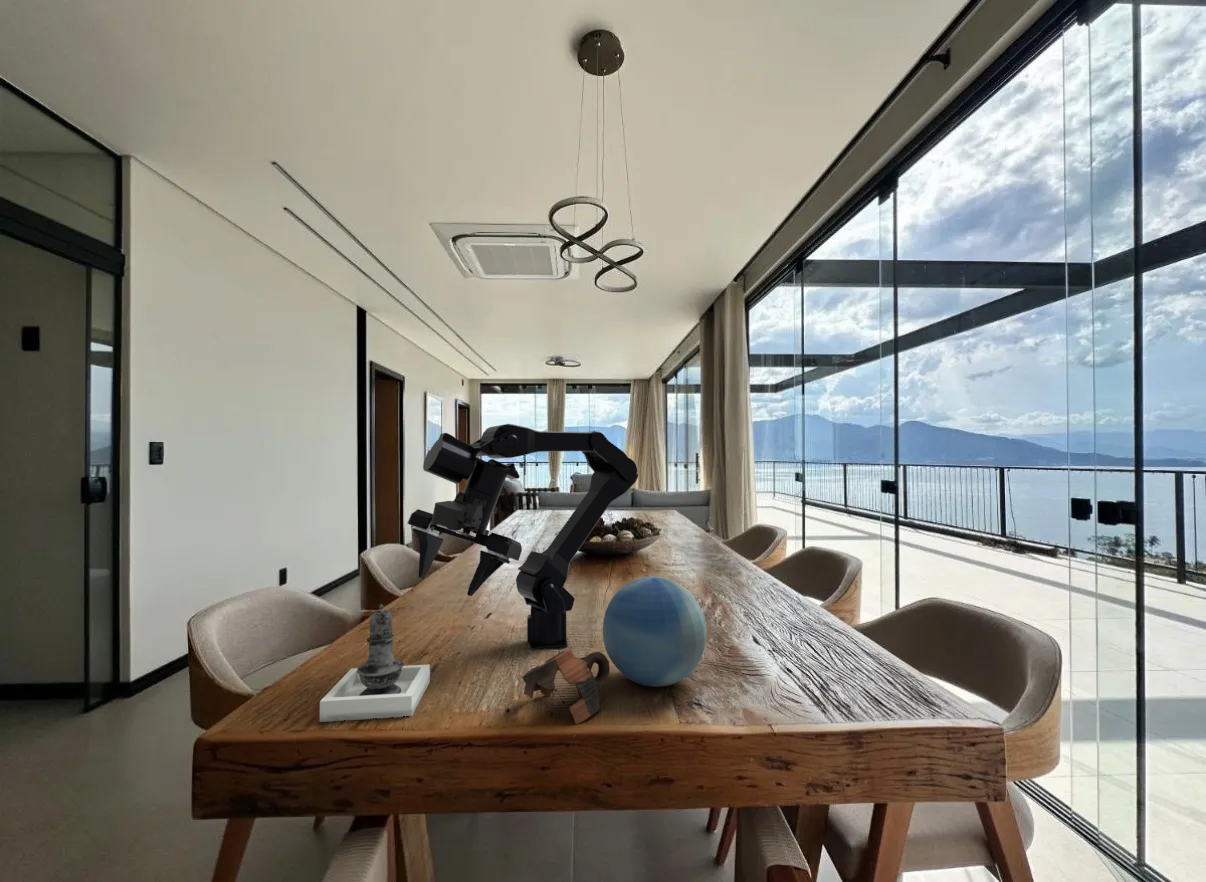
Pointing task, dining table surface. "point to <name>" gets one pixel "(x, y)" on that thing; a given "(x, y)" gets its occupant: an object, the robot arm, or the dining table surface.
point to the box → (374, 697)
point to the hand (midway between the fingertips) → (444, 586)
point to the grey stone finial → (380, 657)
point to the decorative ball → (654, 631)
